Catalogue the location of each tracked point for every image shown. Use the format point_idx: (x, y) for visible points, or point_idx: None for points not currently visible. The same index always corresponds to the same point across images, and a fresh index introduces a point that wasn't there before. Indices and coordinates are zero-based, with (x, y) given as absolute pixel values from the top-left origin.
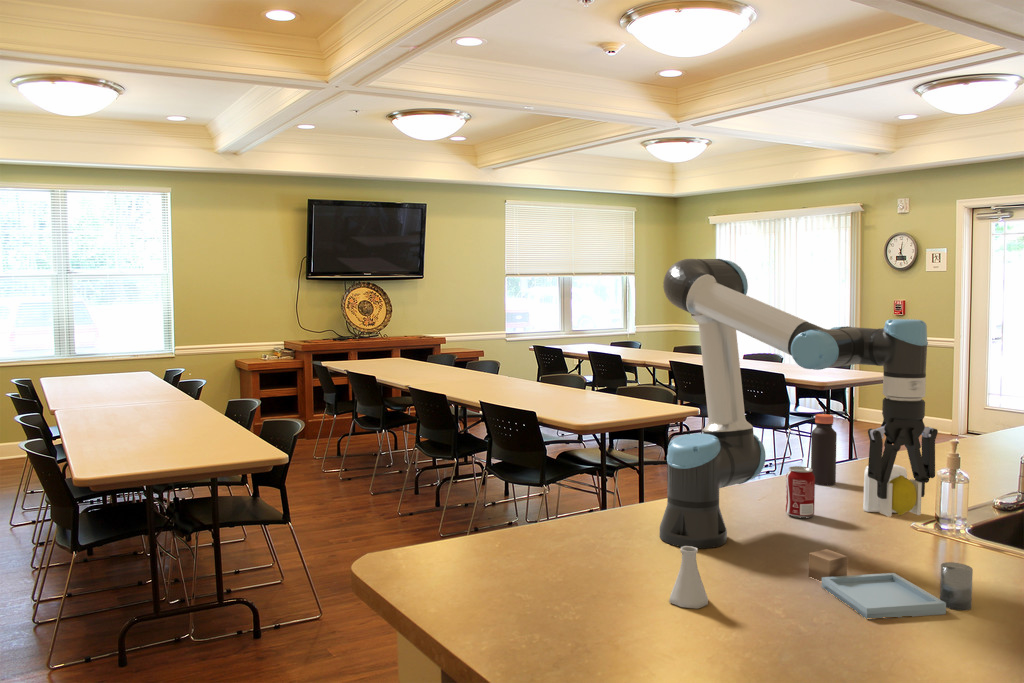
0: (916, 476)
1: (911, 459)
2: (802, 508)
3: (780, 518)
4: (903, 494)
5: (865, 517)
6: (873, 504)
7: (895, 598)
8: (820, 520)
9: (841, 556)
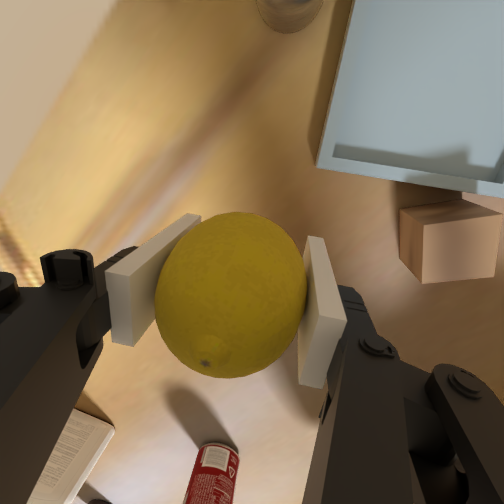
0: (92, 334)
1: (12, 491)
2: (224, 461)
3: (257, 455)
4: (272, 241)
5: (129, 413)
6: (98, 434)
7: (435, 37)
8: (204, 429)
9: (438, 230)
